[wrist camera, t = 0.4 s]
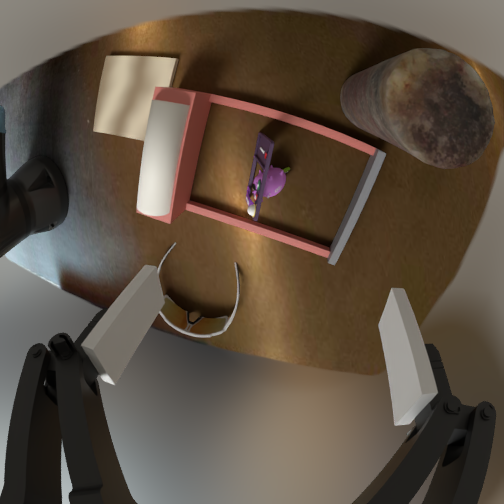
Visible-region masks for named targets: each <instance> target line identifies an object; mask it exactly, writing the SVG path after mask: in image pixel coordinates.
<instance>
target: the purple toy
mask: <svg viewBox="0 0 504 504" xmlns="http://www.w3.org/2000/svg"><path fill="white" fill-rule="evenodd" d="M273 147H274V142H273V141H272V140H271V139H269V138H268V137H267V136H266V135H264V134H263V133H261V132H259V134H258V139H257V144H256V149H255V154H254V159H253V164H252V169H251V174H250V179H249V184H248V189H247V195H246V201H247V203H248V206H249V207H248V213H249V215H251V216H252V218H253V220H254V221H257V220H258V216H259V211H260V207H261V202H263V199H262V197H263V196H265V197H268V198H269V197H271V196H274V195H276V194H278V193H279V192H280V191H281V190H282V188H283V187H284V185H285V182H286V175H285V173H286V171H287V173H288V170H290V167H287V168H285V169H280V168H273V166H272V165H271V166H270V169H269V165H270V161H271V156H272V152H273ZM257 161H258V163H259V164H260V166H261V167H262V169H263V170H264V172H263V173H262V172H261V170H259V174H258V175H257V176H256V177H255V179H254V182H253V177H254V172H255V167H256V162H257ZM252 182H253V190H254V191H253V192H252V193H254V197H255V203H253V202H252V201H251V199H250V192H251V187H252ZM256 204H257V206H256Z"/></svg>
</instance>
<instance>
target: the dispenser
mask: <svg viewBox="0 0 504 504" xmlns="http://www.w3.org/2000/svg"><path fill="white" fill-rule="evenodd" d="M212 102H213V103H217V104H222V105H226V106H230V107H234V108H238V109H242V110H246V111H250V112H254V113H257V114H261V115H264V116H268V117H271V118H274V119H278V120H281V121H284V122H287V123H290V124H293V125H296V126H299V127H302V128H305V129H308V130H311V131H314V132H316V133H319V134H322V135H324V136H327V137H330V138H332V139H335V140H337V141H340V142H342V143H345V144H347V145H350V146H352V147H354V148H357V149H359V150H361V151H364V152H366V153H368V154H370V158H369V160H368V163H367V165H366V168H365V170H364V173H363V175H362V177H361V180H360V182H359V184H358V187H357V189H356V191H355V194H354V196H353V198H352V201H351V203H350V205H349V207H348V210H347V212H346V214H345V216H344V218H343V221H342V223H341V225H340V227H339V229H338V231H337V234H336V236H335V238H334V240H333V242H332V244H331V246H330V247H327V246H324V245H321V244H319V243H316V242H313V241H310V240H307V239H305V238H302V237H299V236H296V235H293V234H290V233H287V232H285V231H282V230H279V229H276V228H273V227H270V226H267V225H264V224H261V223H258V222H255V221H252V220H249V219H246V218H243V217H240V216H237V215H234V214H231V213H228V212H225V211H222V210H219V209H216V208H213V207H210V206H207V205H204V204H200V203H197V202H194V201H191V200H190V196H191V191H192V186H193V181H194V176H195V171H196V166H197V162H198V157H199V153H200V148H201V144H202V139H203V135H204V131H205V127H206V123H207V119H208V115H209V111H210V107H211V103H212ZM385 156H386V153H384V152H383V151H381V150H379V149H377V148H375V147H373V146H371V145H368V144H366V143H364V142H362V141H359V140H357V139H355V138H352V137H350V136H348V135H345V134H343V133H340V132H338V131H335V130H333V129H330V128H327V127H325V126H322V125H319V124H317V123H314V122H311V121H308V120H305V119H302V118H299V117H296V116H293V115H290V114H287V113H284V112H281V111H277V110H274V109H271V108H267V107H264V106H260V105H256V104H253V103H249V102H245V101H241V100H237V99H233V98H228V97H224V96H219V95H215V94H210V93H205V92H199V91H194V90H188V89H182V88H172V87H155V90H154V95H153V99H152V102H151V107H150V112H149V118H148V123H147V129H146V135H145V141H144V148H143V155H142V162H141V170H140V179H139V188H138V199H137V213H140V214H143V215H146V216H148V217H151V218H154V219H157V220H160V221H163V222H166V223H169V224H171V223H172V222H173V221H174V220H175V219H176V218H177V217H178V216H179V215H180V214H181V213H182V212H183V211H184V210H188V211H191V212H194V213H197V214H200V215H204V216H207V217H210V218H213V219H216V220H219V221H222V222H225V223H228V224H231V225H234V226H237V227H240V228H243V229H246V230H249V231H252V232H254V233H257V234H260V235H263V236H266V237H269V238H272V239H275V240H278V241H281V242H284V243H287V244H289V245H292V246H295V247H298V248H301V249H304V250H307V251H310V252H312V253H315V254H318V255H321V256H324V257H326V258H328V263H330V264H332V265H335V264H336V262H337V260H338V258H339V256H340V254H341V252H342V250H343V248H344V246H345V244H346V242H347V240H348V238H349V236H350V234H351V232H352V230H353V228H354V226H355V224H356V222H357V219H358V217H359V215H360V213H361V211H362V209H363V207H364V204H365V202H366V200H367V198H368V196H369V193H370V191H371V189H372V187H373V184H374V182H375V180H376V177H377V175H378V173H379V170H380V168H381V165H382V163H383V161H384V158H385Z"/></svg>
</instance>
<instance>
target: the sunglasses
mask: <svg viewBox="0 0 504 504" xmlns="http://www.w3.org/2000/svg"><path fill="white" fill-rule="evenodd" d="M175 245H176V242H175V243H174V244H173V245H172V247H171V248H170V249H169V250H168V252H167V253H166V255H165V256H164V257H163V259H162V261H161V263H160V265H159V268H158V271H157V272H158V276H159V273H160V269H161V266H162V264H163V262H164V260H165V258H166V257H167V255H168V254H169V252H170V251H171V250H172V249H173V247H174V246H175ZM235 269H236V276H237V301H236V305H235V309H234V311H233V313H232V315H231V317H230V318H229V320H228V316H223V317H218V318H204V317H201V316H200V317H199V318H198V319H197V320H196V321H194V322H191V321H189V312H187V311H185V310H183V309H181V308H180V307H179V306H177V305H176V304H175V303H174V302H173V301H172V300H171V299H170V297H169V296H168V295H165V296H164V301H165V304H164V305H163V307H162V308H161V310H160V311H159V313H160V315H161V316H162V317H163V318H164V320H165V321H166V322H167V323H168V324H169V325H170V326H172V327H173V328H174V329H176V330H178V331H180V332H182V333H184V334H187V335H190V336H194V337H211V336H215V335H218V334H221V333H223V332H224V331H226V329H227V328H228V326H229V325H230V323H231V321H232V320H233V318H234V315H235V313H236V310H237V305H238V301H239V294H240V283H239V272H238V267H237V263H236V262H235Z"/></svg>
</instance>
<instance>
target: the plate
mask: <svg viewBox="0 0 504 504" xmlns="http://www.w3.org/2000/svg"><path fill="white" fill-rule="evenodd" d="M178 61H179V59H176V58H165V57H150V56H106V59H105V63H104V68H103V73H102V77H101V83H100V88H99V94H98V100H97V106H96V113H95V121H94V129H93V131H96V132H102V133H107V134H113V135H118V136H123V137H128V138H133V139H138V140H142V141H145V135H146V129H147V123H148V118H149V112H150V107H151V102H152V99H153V95H154V90H155V87H172V83H173V79H174V75H175V72H176V68H177V64H178Z"/></svg>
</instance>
